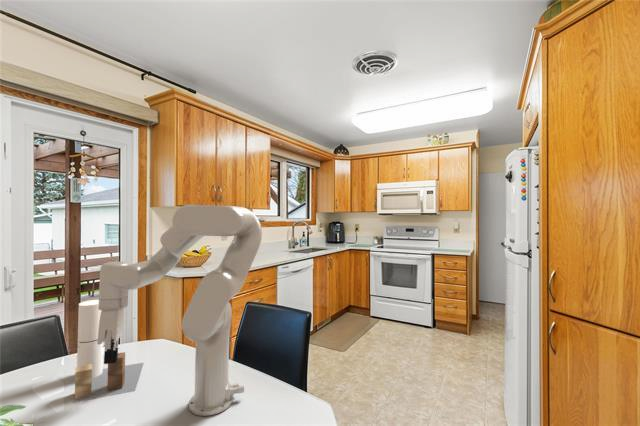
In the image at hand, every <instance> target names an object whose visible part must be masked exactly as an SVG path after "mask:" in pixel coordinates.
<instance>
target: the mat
mask: <svg viewBox="0 0 640 426" xmlns="http://www.w3.org/2000/svg"><path fill="white" fill-rule="evenodd" d="M143 366H144V362H140V363H139V362H138V363H133V364H125V383H124V385H123V388H122V389H117V390H111V391H107V382H108V367H107V368H103V371H102V374H100V375H99V376H97V377H95V378H92V386H91V395H89V396H85V397H82V398H78V399H75V398H74V399H73V401H72V403H77V402H83V401H88V400H93V399H100V398H105V397H110V396H111V397H112V396H116V395H120V394H121V395H122V394H126V393H132V392H135V391H136V388H137V386H138V382H139V379H140V376H141V373H142V369H143Z"/></svg>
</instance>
